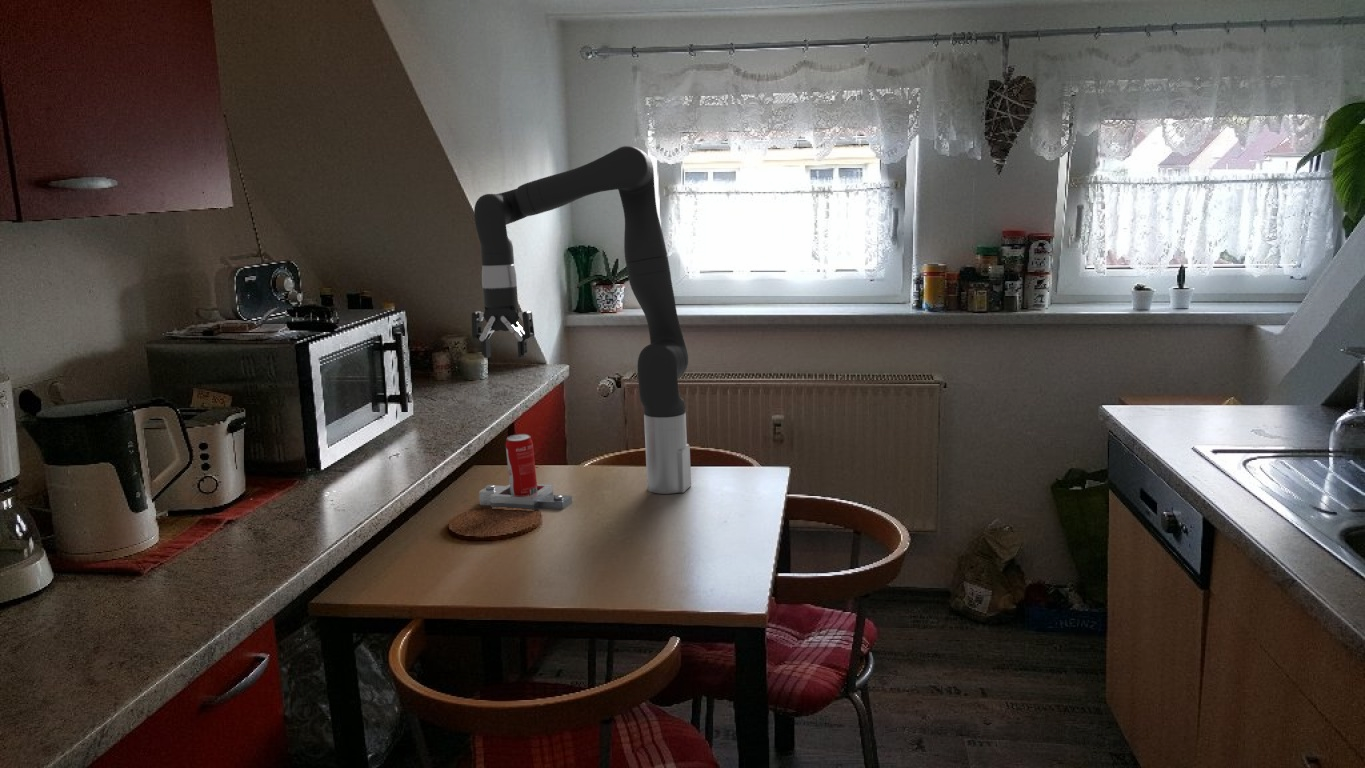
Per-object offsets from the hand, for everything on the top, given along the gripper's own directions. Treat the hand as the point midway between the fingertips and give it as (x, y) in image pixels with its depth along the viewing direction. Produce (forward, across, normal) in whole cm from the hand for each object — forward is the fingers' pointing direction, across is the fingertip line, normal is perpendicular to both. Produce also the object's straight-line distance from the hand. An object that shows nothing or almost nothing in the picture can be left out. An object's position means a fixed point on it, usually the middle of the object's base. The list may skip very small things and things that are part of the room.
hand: (504, 357), depth 220 cm
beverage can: (+30, -8, +12) cm, 33 cm away
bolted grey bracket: (+30, -8, +12) cm, 33 cm away
